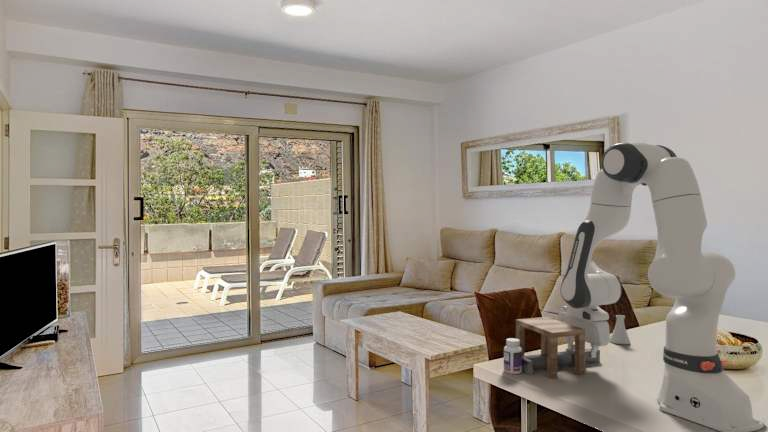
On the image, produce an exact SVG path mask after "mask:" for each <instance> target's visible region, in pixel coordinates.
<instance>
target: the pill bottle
mask: <svg viewBox="0 0 768 432" xmlns="http://www.w3.org/2000/svg"><path fill="white" fill-rule="evenodd" d="M505 340H506V341H505V342H506V343H505V346H504V347H503V372H505V373H507V374H513V375H517V374H521V373H523V372H522V348H521V347H520V346H519V345H520V340H519V339H516V337H515V338H514V337H509V338H506V339H505Z"/></svg>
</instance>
